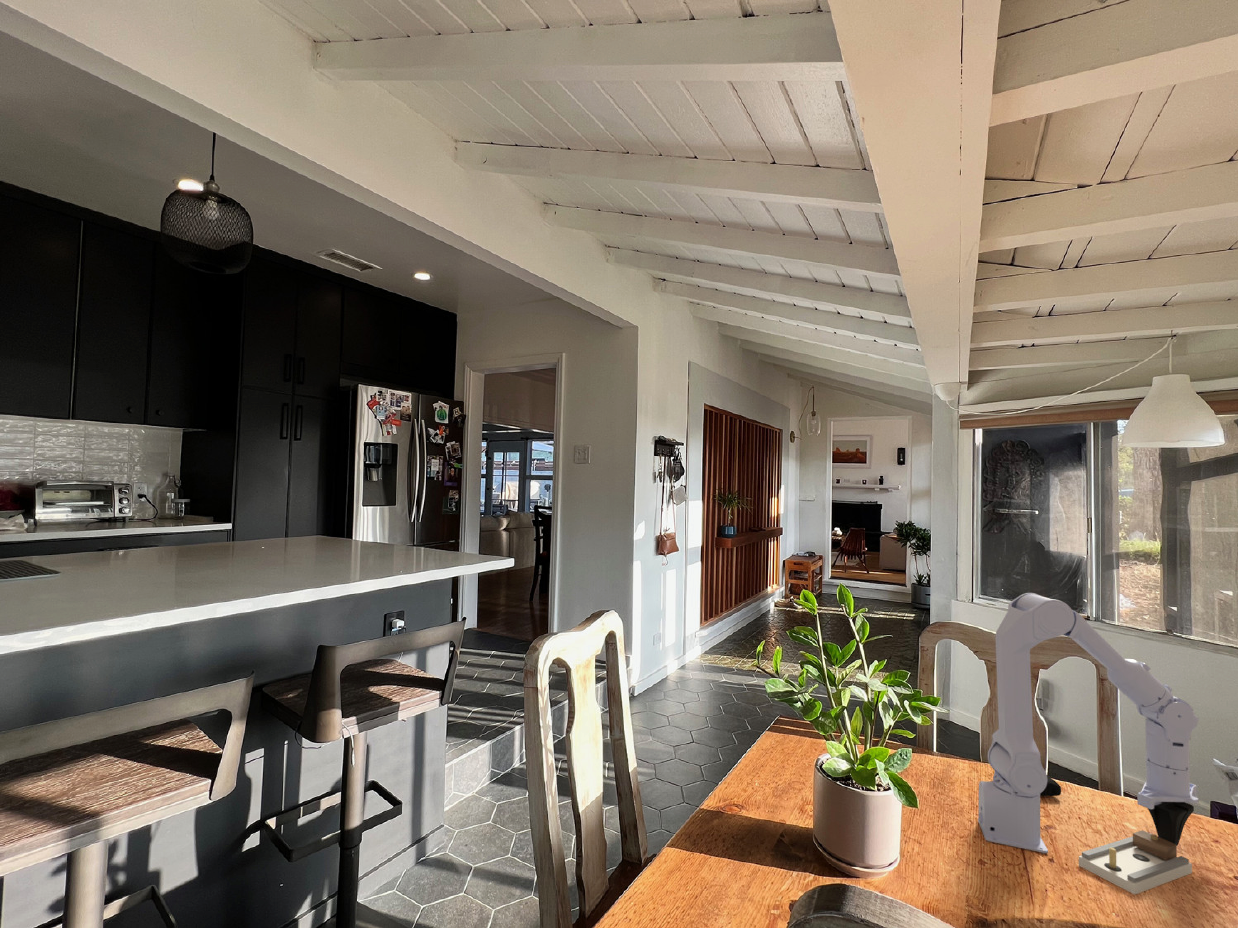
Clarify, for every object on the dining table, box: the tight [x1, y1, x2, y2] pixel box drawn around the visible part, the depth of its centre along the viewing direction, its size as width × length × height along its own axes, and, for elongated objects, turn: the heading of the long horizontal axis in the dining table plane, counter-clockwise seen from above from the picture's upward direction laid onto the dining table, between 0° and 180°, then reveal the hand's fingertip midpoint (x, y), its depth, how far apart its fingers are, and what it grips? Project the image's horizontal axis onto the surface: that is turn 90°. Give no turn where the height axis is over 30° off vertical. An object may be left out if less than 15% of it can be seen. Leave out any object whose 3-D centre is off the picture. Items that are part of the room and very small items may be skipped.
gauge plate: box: [1078, 835, 1193, 895], centre depth 102 cm, size 16×8×4 cm, turn 113°
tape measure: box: [1040, 774, 1062, 797], centre depth 129 cm, size 7×7×4 cm
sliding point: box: [1132, 830, 1178, 860], centre depth 104 cm, size 3×5×2 cm, turn 23°
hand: (1168, 843), depth 106 cm, fingers closed
